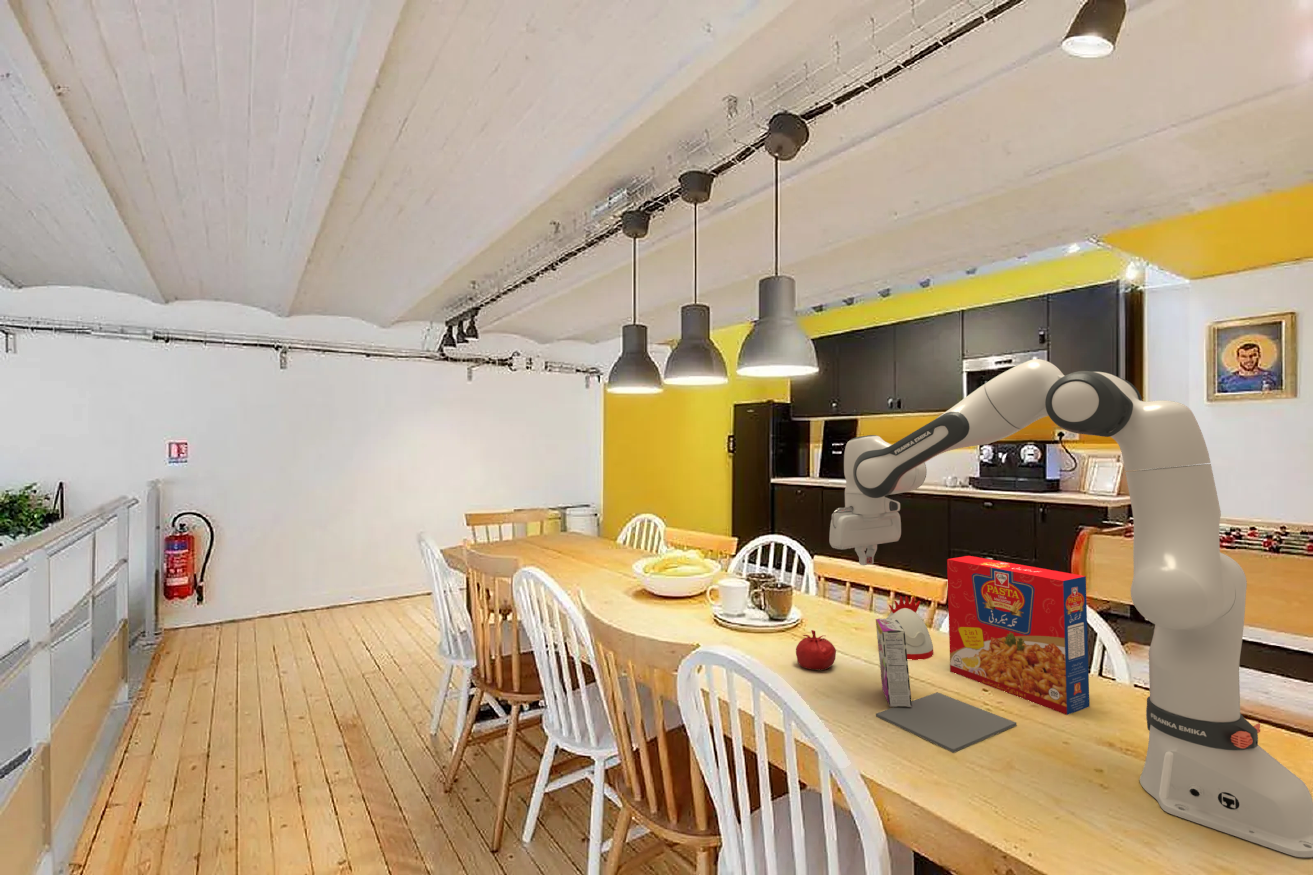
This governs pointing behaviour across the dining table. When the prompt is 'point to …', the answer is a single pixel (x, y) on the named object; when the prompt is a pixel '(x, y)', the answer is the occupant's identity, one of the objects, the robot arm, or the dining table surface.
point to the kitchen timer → (913, 629)
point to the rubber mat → (946, 721)
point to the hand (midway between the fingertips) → (866, 564)
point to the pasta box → (1020, 630)
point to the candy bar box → (893, 662)
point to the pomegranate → (815, 652)
